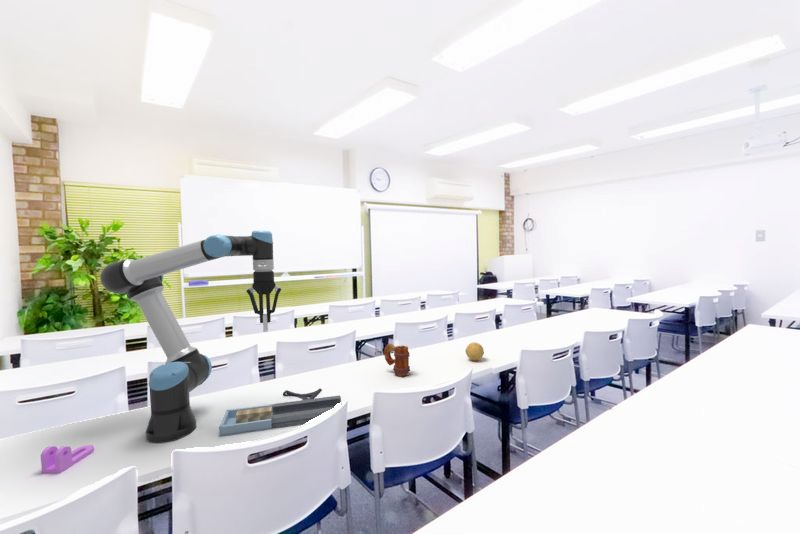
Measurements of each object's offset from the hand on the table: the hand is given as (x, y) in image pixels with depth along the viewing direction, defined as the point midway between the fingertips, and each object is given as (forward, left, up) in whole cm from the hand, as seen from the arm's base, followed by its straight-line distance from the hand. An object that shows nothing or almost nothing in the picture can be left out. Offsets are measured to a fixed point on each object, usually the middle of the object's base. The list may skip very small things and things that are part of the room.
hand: (265, 330), depth 142 cm
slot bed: (+15, -8, -32) cm, 37 cm away
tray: (-6, -8, -32) cm, 34 cm away
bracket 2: (+12, +12, -33) cm, 37 cm away
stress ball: (+107, +32, -33) cm, 116 cm away
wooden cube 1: (-8, -8, -32) cm, 34 cm away
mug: (+60, +25, -33) cm, 73 cm away
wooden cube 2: (-4, -8, -32) cm, 33 cm away
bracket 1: (-56, -16, -33) cm, 67 cm away
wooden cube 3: (0, -8, -32) cm, 33 cm away
